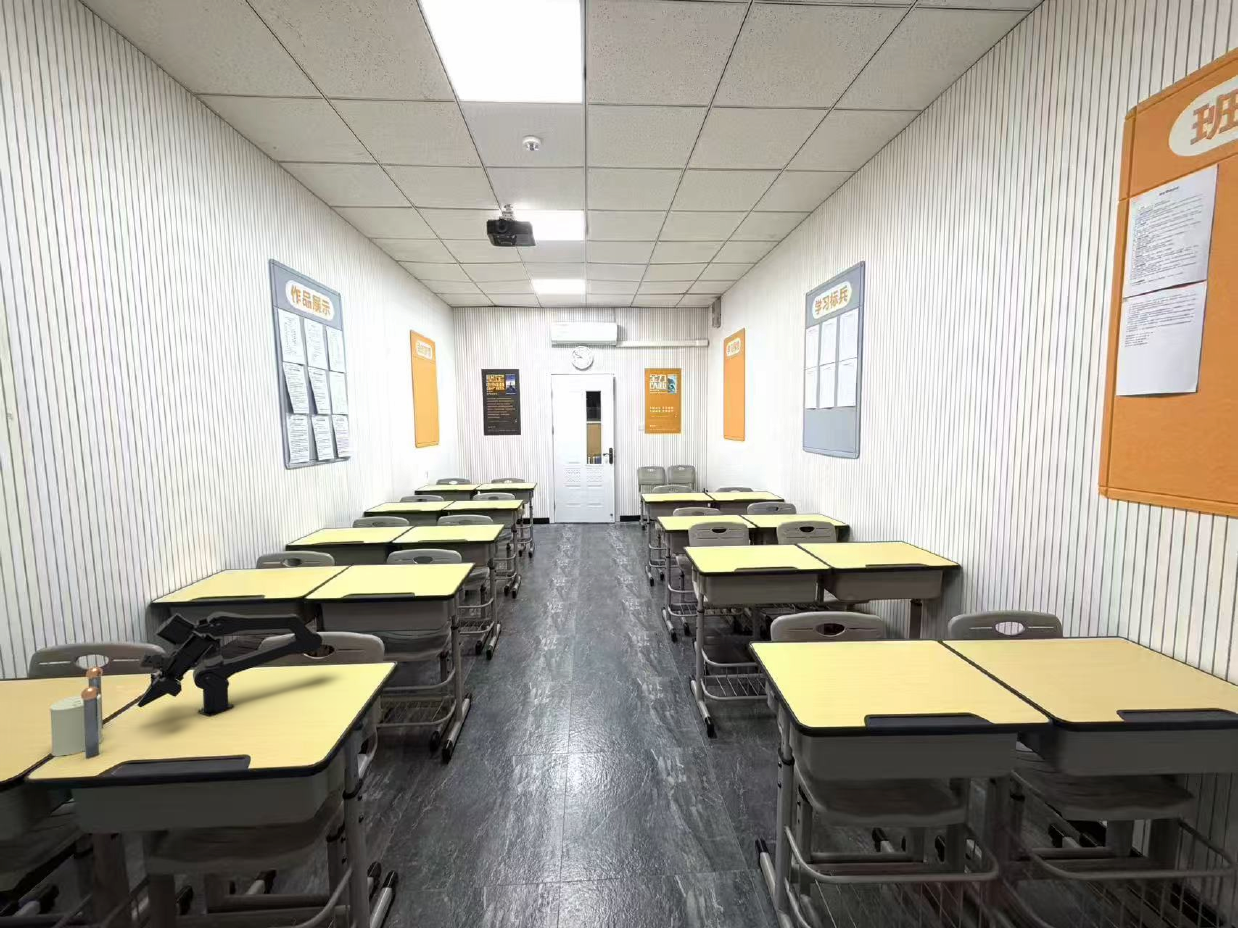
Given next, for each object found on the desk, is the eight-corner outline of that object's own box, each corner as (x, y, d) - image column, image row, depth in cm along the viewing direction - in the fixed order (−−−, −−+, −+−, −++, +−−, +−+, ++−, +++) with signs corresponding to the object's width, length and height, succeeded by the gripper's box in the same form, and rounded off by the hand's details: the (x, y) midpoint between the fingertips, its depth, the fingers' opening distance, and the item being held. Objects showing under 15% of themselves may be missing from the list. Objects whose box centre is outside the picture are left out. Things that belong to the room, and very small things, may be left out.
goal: (101, 755, 132) (98, 687, 132) (82, 760, 130) (80, 691, 129) (105, 725, 147) (102, 663, 147) (88, 729, 145) (86, 667, 145)
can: (55, 760, 130) (53, 711, 130) (48, 748, 135) (46, 701, 135) (107, 743, 137) (105, 696, 137) (98, 733, 143) (96, 688, 143)
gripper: (160, 630, 154) (109, 681, 147) (162, 647, 140) (106, 704, 133) (197, 650, 159) (149, 699, 152) (202, 668, 145) (150, 724, 138)
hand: (138, 706), depth 144 cm, fingers closed
